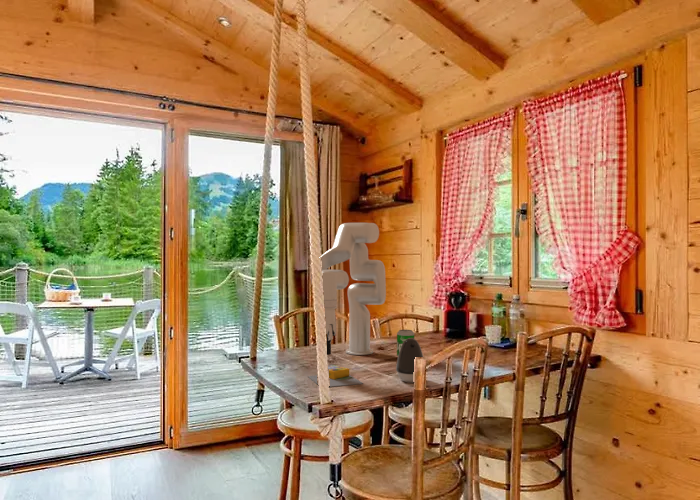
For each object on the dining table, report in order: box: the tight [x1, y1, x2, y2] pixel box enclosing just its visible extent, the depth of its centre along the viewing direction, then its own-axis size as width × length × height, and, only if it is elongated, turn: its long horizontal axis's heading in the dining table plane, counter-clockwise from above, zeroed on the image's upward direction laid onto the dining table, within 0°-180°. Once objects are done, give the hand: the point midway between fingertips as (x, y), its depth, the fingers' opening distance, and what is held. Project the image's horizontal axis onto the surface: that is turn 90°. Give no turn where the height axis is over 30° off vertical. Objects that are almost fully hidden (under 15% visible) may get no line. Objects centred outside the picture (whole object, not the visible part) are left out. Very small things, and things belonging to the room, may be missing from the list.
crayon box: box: [327, 364, 354, 381], centre depth 180 cm, size 7×3×12 cm
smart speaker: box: [395, 338, 424, 384], centre depth 176 cm, size 10×10×15 cm
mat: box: [307, 374, 364, 388], centre depth 175 cm, size 16×15×1 cm
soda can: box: [396, 329, 415, 357], centre depth 214 cm, size 8×8×12 cm
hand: (326, 354), depth 181 cm, fingers closed
